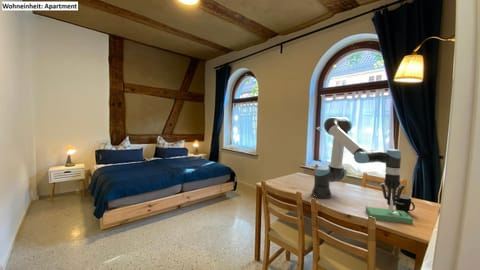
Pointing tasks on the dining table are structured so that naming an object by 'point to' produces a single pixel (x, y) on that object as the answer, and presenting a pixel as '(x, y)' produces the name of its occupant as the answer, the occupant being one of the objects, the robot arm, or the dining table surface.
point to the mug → (404, 203)
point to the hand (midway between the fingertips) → (390, 210)
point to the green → (389, 215)
